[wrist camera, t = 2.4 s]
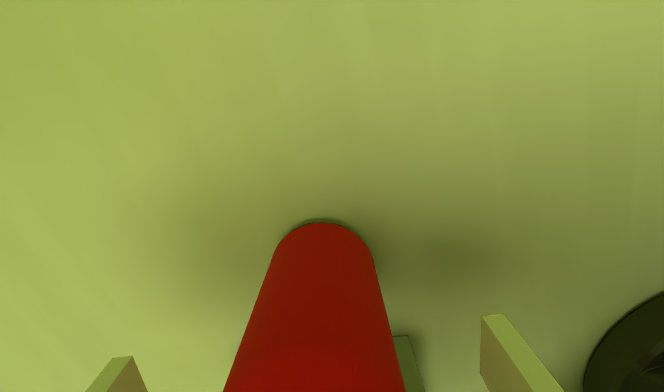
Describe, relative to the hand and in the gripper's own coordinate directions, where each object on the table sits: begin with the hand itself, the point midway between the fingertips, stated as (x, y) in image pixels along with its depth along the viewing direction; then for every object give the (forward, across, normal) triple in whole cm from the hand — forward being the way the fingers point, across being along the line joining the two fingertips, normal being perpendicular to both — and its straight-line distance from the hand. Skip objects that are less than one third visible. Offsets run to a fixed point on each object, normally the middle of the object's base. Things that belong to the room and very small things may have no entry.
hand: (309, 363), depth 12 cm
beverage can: (+8, 0, 0) cm, 8 cm away
